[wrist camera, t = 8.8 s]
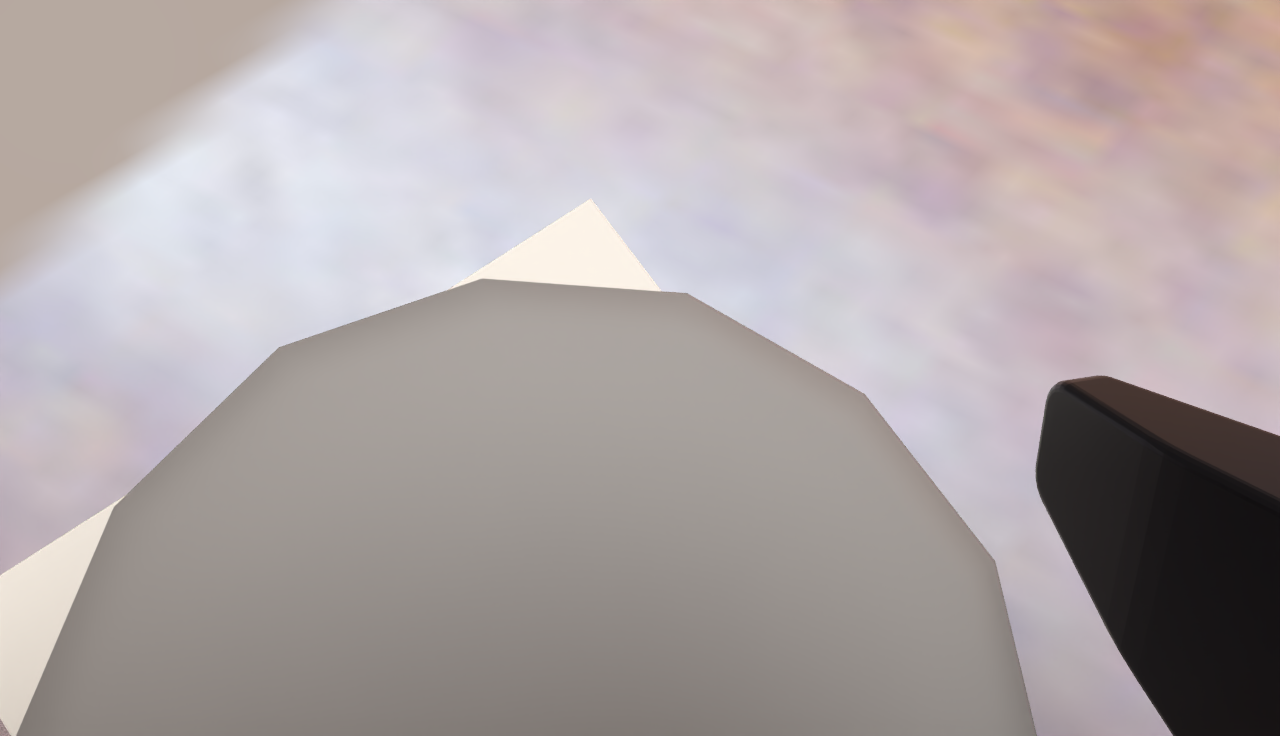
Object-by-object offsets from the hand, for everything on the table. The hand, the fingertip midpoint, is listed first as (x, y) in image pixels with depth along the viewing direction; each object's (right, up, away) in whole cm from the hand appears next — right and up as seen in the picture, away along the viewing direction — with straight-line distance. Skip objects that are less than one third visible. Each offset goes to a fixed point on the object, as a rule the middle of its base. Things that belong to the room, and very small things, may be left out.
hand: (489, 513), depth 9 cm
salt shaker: (-1, -4, +8) cm, 9 cm away
